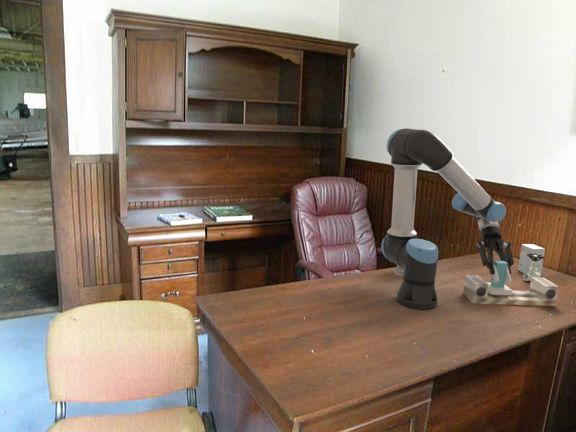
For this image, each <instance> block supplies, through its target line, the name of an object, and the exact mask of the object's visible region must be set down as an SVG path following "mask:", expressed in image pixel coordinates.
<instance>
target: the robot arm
mask: <svg viewBox="0 0 576 432" xmlns="http://www.w3.org/2000/svg"><path fill="white" fill-rule="evenodd" d="M446 144H447V143H444V141H443V140H442V139H440V138H439V137H438V136H437V135H435V134H434V133H433V132H431V131H428V130H426V129H416V128H407V127H406V128H400V129H396V130H395V131H393V132H392V133H391V134H390V135H389V137H388V139H387V142H386V150H387V151H386V152H388V154H389V156H390V157H391V159H390V160H391V161H390V165H392V167H393V169H394V173H393V174H394V177H393V178H394V179H393V192H392V193H393V195H392V212H391V227H390V228H389V229H388V230H387V231H386V235H385V236H384V238H383V239H382V240H381V241H382V242H381V249H380V250H381V252H382V254H383V256H384V258H386V259H387V260H388V261H389V262H391V263H393V264H395V265H396V266H397V265H398V266H400V267H402V268H404V275H403V277H402V282H401V284H400V286H399V288H398V290H397V292H396V299H395V300H396V301H397V302H398V303H399V304H400V305H402V306H404V307H406V308H407V307H408V308H411V309H416V310H432V309H435V308H436V307H438V300H439V299H438V294H437V290H436V285H435V283H436V277H437V267H438V260H439V248H438V246H437V245H436V244H435V243H434V242H432V241H430V240H425V239H422V238H418V237H417V236H418V232H417V231H416V230H415V228H414V224H415V213H416V211H415V210H416V209H415V208H416V196H417V182H418V180H417V179H418V169H420V167H421V166H422V165H425V166H426V167H428V168H429V170H431V171H433V172H437V173H438V174H439V175H440V176H441V177H442V178H443V179H444V180H445V181H446V183H448V184H449V185H450V186H451V187H452V188H453V189H454V190H455V191H456V192H457V193H455V194H454V195H453V198H452V200H451V205H452V208H453V209H454V210H456V211H458V212H461V213H465V214H467V215H470V216H474V217H476V221H477V224H478V228H479V232H480V236H481V241H478V242H477V243H475V245H476V246H475V247H476V248H477V249H478V251H479V256H480V259H481V262H482V263H481V264H482V266H484V267H486V268H487V269H488V271H489V274H490V275H491V276H492V275H493V279H494V283H497V282H498V281H499V277H498V273H497V269H496V265H493V264H494V251H495V252H496V254H497V255H498V257H499V259H500V261H505V262H506V263H508V266H507V272H506V278H505V284H507V285H509V284H510V283H511V282H512V276H511V275H512V270H511V267H513V265H515V261H514V258H513V253H512V248H511V245H512V243H511V242H505V241H504V239H503V238H502V237H503V236H502V232H501V230H500V229H501V228H500V224H499V222H500V221H502V220H503V219H504V218H505V217H506V214H507V208H506V206H505V205H504V204H503V203H502V202H499V201H495V200H494V199H493V198H492V197H491V196H490V195H489V194H488V193H487V191H485V189H484V188H483V187H482V186H481V185H480V184H479V183H478V182H477V181H476V179H474V177H472V175H471V174H470V173H469V172H468V171H467V170H466V169H465V168H464V166H462V165H461V164H460V163H459V162H458V161H457V160H456V158H455V157H454V152H453V150H452V149H451V148H449V146H448V145H446ZM485 248H486V249H485Z"/></svg>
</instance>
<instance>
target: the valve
mask: <svg viewBox="0 0 576 432" xmlns="http://www.w3.org/2000/svg"><path fill="white" fill-rule="evenodd" d="M527 256H529V258H531V260H532V261H533V263H532V267H531V268H529V271H530V272H529V273H523V275H522V278H523V280H524V281H525V282H531V277H542V274H541V275H540V273H539V272H537V269H536V267H535V266H536V261H539V260H542V259H544V260H545V255H544V256H542V255H537V254H535V253H534V254H532V253H529V254H527ZM538 258H539V259H538Z"/></svg>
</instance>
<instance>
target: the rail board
mask: <svg viewBox="0 0 576 432" xmlns="http://www.w3.org/2000/svg"><path fill="white" fill-rule="evenodd" d="M487 282H488V281H485V280H484V279H483V278H482V277H481V276H480V275H477V274H476V275H475V274H465V276H464V284H463V290H462V294H463V295H464V296H465V297H466V298H467V299H468V300H469V301H470V303H472V304H478V305H479V304H481V305H483V304H484V305H511V306H513V305H514V306H538V307H539V306H542V307H546V306H547V307H555V306H556V302H557V296H558V290H559V286H558V285H556V284H555V283H553V282H552V281H550V280H548V279H547V278H545V277H542V276H541V277H531V281H530V282H529V290H512V295H509V296H506V295H488V286H489V284H488V283H487Z"/></svg>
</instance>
